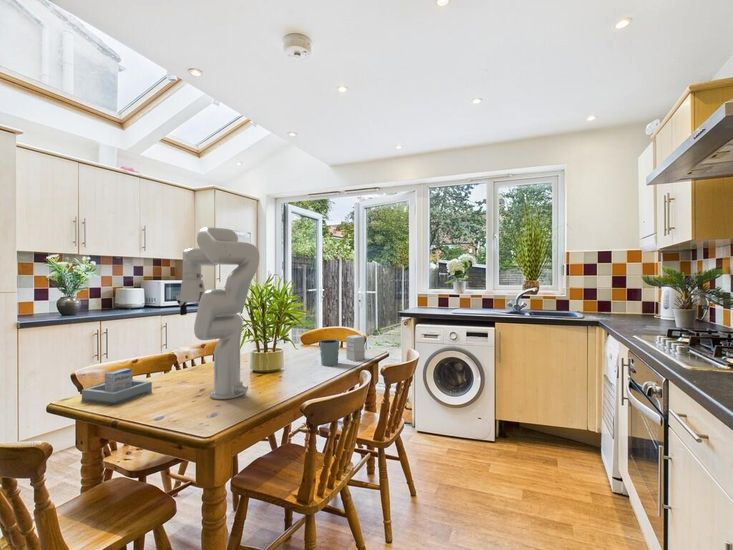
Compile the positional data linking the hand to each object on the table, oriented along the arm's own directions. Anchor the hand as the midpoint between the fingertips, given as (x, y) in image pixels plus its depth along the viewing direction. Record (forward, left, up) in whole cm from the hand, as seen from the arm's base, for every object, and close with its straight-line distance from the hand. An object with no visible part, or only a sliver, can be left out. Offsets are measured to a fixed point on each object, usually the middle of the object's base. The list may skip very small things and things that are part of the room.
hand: (192, 315), depth 173 cm
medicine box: (+9, +29, -28) cm, 41 cm away
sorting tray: (+9, +29, -28) cm, 42 cm away
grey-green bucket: (-48, -43, -28) cm, 70 cm away
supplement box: (-57, -58, -28) cm, 86 cm away
